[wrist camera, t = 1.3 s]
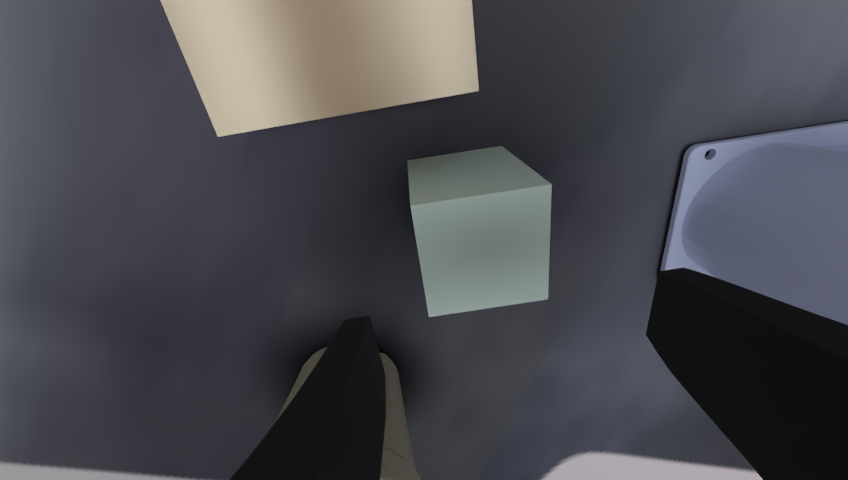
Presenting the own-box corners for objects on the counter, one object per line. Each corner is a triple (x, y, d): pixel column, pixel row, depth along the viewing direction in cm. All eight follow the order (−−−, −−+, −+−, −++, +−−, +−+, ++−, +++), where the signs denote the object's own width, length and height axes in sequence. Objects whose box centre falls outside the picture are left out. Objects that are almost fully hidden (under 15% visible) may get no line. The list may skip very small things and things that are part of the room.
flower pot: (361, 291, 19) (335, 440, 12) (451, 383, 23) (478, 542, 15) (243, 368, 21) (154, 538, 14) (344, 441, 25) (320, 606, 17)
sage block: (501, 145, 16) (551, 184, 11) (504, 231, 18) (547, 299, 13) (407, 160, 16) (410, 205, 11) (420, 243, 18) (429, 317, 13)
